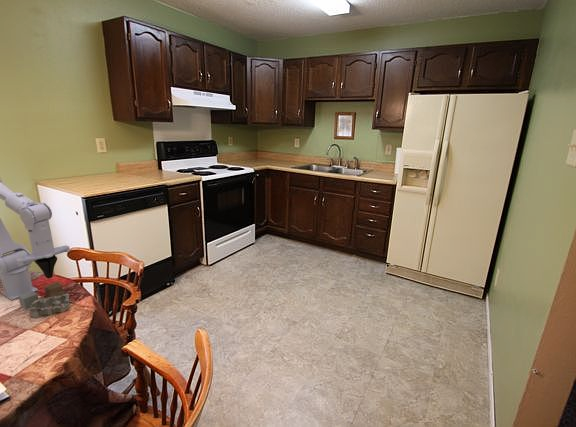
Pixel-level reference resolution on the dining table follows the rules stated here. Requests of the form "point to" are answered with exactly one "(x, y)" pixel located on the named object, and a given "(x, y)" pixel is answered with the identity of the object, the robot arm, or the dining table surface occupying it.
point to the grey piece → (44, 303)
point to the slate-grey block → (27, 299)
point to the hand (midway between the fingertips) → (49, 277)
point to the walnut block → (54, 289)
